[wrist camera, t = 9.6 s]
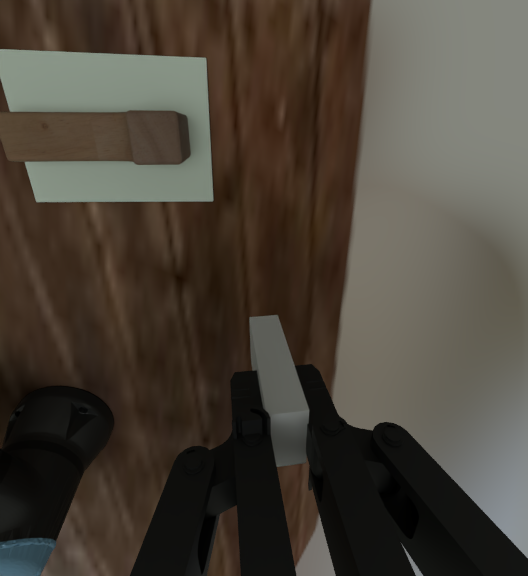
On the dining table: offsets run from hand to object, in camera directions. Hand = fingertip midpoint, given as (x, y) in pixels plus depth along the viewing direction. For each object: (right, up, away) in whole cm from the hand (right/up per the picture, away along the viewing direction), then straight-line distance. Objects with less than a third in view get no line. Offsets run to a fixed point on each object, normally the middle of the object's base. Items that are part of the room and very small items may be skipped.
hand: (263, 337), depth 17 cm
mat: (-17, +20, +20) cm, 33 cm away
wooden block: (-8, +18, +16) cm, 26 cm away
